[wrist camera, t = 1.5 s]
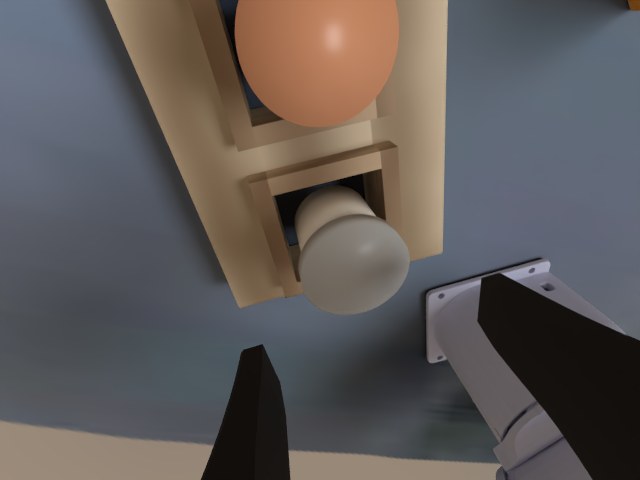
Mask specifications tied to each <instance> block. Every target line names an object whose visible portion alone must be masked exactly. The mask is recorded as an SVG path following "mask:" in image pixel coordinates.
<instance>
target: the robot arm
mask: <svg viewBox="0 0 640 480" xmlns="http://www.w3.org/2000/svg"><path fill="white" fill-rule="evenodd" d="M549 268H550V262H549V261H548V260H546V259H540V260H537V261H533V262H530V263H526V264H523V265H519V266H515V267H512V268H508V269H505V270H501V271H497V272H494V273H490V274H487V275H483V276H480V277H476V278H472V279H469V280H465V281H462V282H458V283H455V284H451V285H447V286H444V287H440V288H437V289H433V290H430V291H429V292H428V293H427V294H426V339H427V360H428V361H429V362H430V363H436V362H439V361H442V360H446V359H447V360H448V361H449V363H450V364H451V366H452V368H453V369H454V371H455V372H456V374H457V376H458V377H459V379H460V380H461V382H462V384H463V385H464V387H465V388H466V390H467V392H468V393H469V395H470V396H471V398H472V400H473V401H474V403H475V404H476V406H477V408H478V409H479V411H480V412H481V414H482V416H483V417H484V419H485V421H486V422H487V424H488V425H489V427H490V429H491V430H492V432H493V433H494V435H495V437H496V438H497V440H498V441H499V443H500V444H498V445H497V446H496V447H495V448H493V451H494V453H495V455H496V456H497V458H498V460H499V461H500V463H501V465H502V467H500V468H499V469H498V470H497V473H496V480H640V341H639V340H637V339H635V338H632V337H630V336H627V335H626V334H625V333H624V332H623V331H622V330H621V329H620V328H619V327H618V326H617V325H616V324H615V323H614V322H612V321H611V320H610V319H609V318H607V317H606V316H605V315H603V314H602V313H601V312H600V311H598V310H597V309H596V308H595V307H593V306H592V305H591V304H589V303H588V302H587V301H586V300H584V299H583V298H582V297H581V296H579V295H578V294H577V293H575V292H574V291H573V290H572V289H570V288H569V287H568V286H567V285H565V284H564V283H563V282H561V281H560V280H559V279H558V278H556V277H555V276H554V275H553V274H551V273H550V272H549ZM439 294H440V295H439ZM201 480H290V468H289V454H288V439H287V425H286V414H285V408H284V402H283V396H282V391H281V385H280V381H279V379H278V377H277V375H276V373H275V370H274V368H273V366H272V364H271V362H270V359H269V357H268V355H267V353H266V351H265V348H264V346H263V344H262V345H258V346H255V347H252V348H248V349H245V350H243V351H242V353H241V356H240V360H239V365H238V369H237V373H236V377H235V381H234V385H233V388H232V392H231V395H230V399H229V402H228V405H227V408H226V412H225V415H224V418H223V421H222V424H221V427H220V430H219V433H218V436H217V438H216V441H215V444H214V447H213V449H212V452H211V455H210V458H209V460H208V463H207V465H206V468H205V470H204V473H203V476H202V478H201Z"/></svg>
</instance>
